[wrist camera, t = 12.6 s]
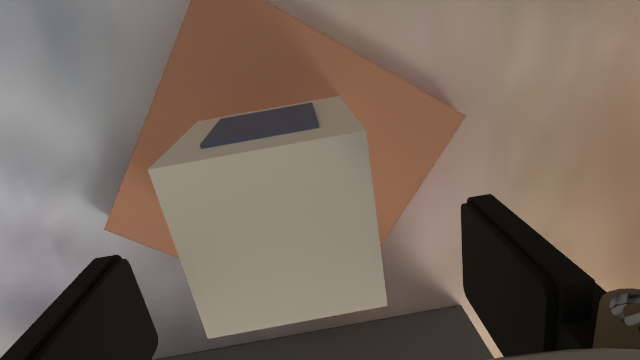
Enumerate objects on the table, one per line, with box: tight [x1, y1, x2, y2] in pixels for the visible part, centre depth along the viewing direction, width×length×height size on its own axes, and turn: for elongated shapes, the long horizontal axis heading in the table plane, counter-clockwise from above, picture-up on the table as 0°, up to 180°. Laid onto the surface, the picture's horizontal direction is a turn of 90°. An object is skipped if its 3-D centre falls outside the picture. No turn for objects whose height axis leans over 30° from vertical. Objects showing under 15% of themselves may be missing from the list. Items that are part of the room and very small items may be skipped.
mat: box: [104, 0, 465, 317], centre depth 17 cm, size 12×12×1 cm
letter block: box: [148, 96, 388, 339], centre depth 14 cm, size 6×6×6 cm
